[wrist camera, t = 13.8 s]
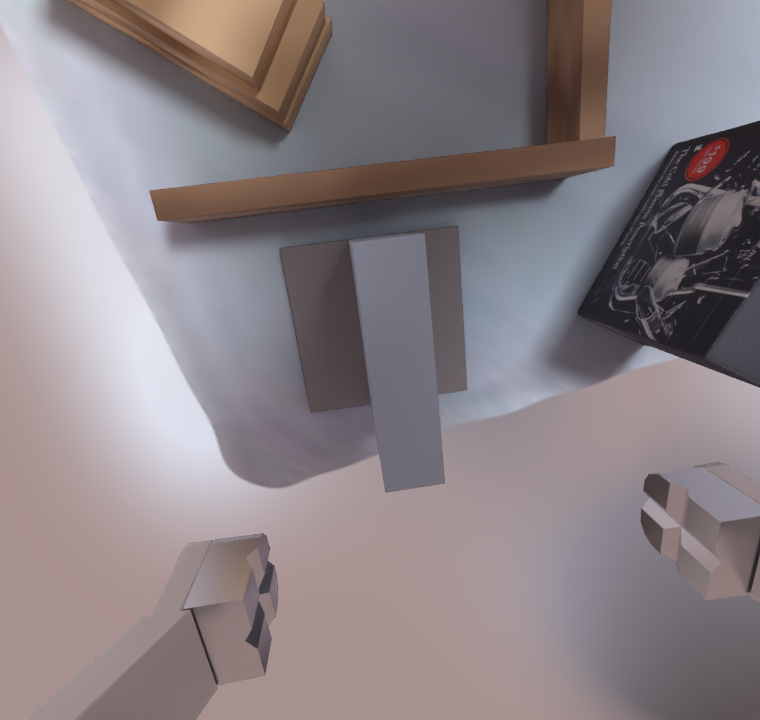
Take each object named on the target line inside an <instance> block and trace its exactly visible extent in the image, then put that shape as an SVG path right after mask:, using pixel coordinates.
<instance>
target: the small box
mask: <svg viewBox="0 0 760 720" xmlns="http://www.w3.org/2000/svg"><path fill="white" fill-rule="evenodd" d="M578 314H579V315H580V316H582V317H584V318H586V319H589V320H590V321H592V322H594V323H597V324H599V325H602V326H604V327H606V328H608V329H610V330H612V331H614V332H616V333H619V334H621V335H623V336H625V337H627V338H629V339H632V340H634V341H636V342H639V343H641V344H643V345H647V346H651V347H654V348H657V349H659V350H662V351H665V352H667V353H670V354H673V355H675V356H678V357H681V358H683V359H686V360H689V361H692V362H694V363H696V364H699V365H702V366H704V367H707V368H709V369H712V370H715V371H717V372H720V373H723V374H725V375H728V376H731V377H733V378H736V379H738V380H741V381H744V382H747V383H749V384H752V385H754V386H757V387H760V121H757V122H753V123H750V124H746V125H743V126H739V127H736V128H732V129H728V130H725V131H721V132H718V133H714V134H710V135H706V136H702V137H698V138H695V139H691V140H688V141H684V142H680V143H677V144H675V146H674V147H673V149H672V150H671V152H670V154H669V156H668V157H667V159H666V161H665V162H664V164H663V166H662V167H661V169H660V171H659V173H658V174H657V176H656V178H655V180H654V181H653V183H652V185H651V186H650V188H649V190H648V191H647V193H646V195H645V197H644V198H643V200H642V202H641V204H640V205H639V207H638V209H637V211H636V212H635V214H634V216H633V218H632V219H631V221H630V222H629V224H628V226H627V228H626V230H625V231H624V233H623V235H622V236H621V238H620V240H619V241H618V243H617V245H616V247H615V248H614V250H613V252H612V254H611V255H610V257H609V259H608V260H607V262H606V264H605V266H604V267H603V269H602V271H601V272H600V274H599V276H598V278H597V279H596V281H595V283H594V285H593V286H592V288H591V290H590V291H589V293H588V295H587V297H586V298H585V300H584V302H583V303H582V305H581V307H580V309H579V310H578Z"/></svg>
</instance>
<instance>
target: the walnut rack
mask: <svg viewBox="0 0 760 720" xmlns="http://www.w3.org/2000/svg"><path fill="white" fill-rule="evenodd" d="M610 16H611V0H548V7H547V129H546V145H537V146H528V147H520V148H511V149H503V150H494V151H485V152H477V153H468V154H460V155H451V156H443V157H434V158H425V159H417V160H408V161H400V162H391V163H383V164H374V165H365V166H357V167H348V168H340V169H331V170H322V171H314V172H305V173H297V174H288V175H280V176H271V177H262V178H254V179H245V180H237V181H228V182H220V183H211V184H202V185H194V186H185V187H177V188H168V189H159V190H151V191H150V195H151V198H152V202H153V206H154V209H155V213H156V217H157V220H158V221H169V222H183V223H196V222H205V221H213V220H221V219H229V218H238V217H246V216H254V215H262V214H271V213H279V212H287V211H296V210H304V209H312V208H320V207H329V206H337V205H345V204H353V203H362V202H370V201H378V200H387V199H395V198H403V197H411V196H420V195H428V194H436V193H444V192H453V191H461V190H469V189H477V188H486V187H494V186H502V185H511V184H519V183H527V182H535V181H544V180H552V179H560V178H568V177H572V176H576V175H580V174H584V173H588V172H592V171H596V170H599V169H603V168H607V167H611V166H614V157H615V139H616V136H614V137H606V138H605V120H606V99H607V79H608V58H609V37H610Z"/></svg>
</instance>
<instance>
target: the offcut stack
mask: <svg viewBox="0 0 760 720" xmlns="http://www.w3.org/2000/svg"><path fill="white" fill-rule="evenodd" d="M68 1H70V2H72V3H73V4H75V5H77V6H78V7H80V8H82V9H83V10H85V11H87V12H89V13H90V14H92V15H94V16H95V17H97V18H99V19H100V20H102V21H104V22H105V23H107V24H109V25H110V26H112V27H114V28H115V29H117V30H119V31H120V32H122V33H124V34H125V35H127V36H129V37H131V38H132V39H134V40H136V41H137V42H139V43H141V44H142V45H144V46H146V47H147V48H149V49H151V50H152V51H154V52H156V53H157V54H159V55H161V56H162V57H164V58H166V59H167V60H169V61H171V62H173V63H174V64H176V65H178V66H179V67H181V68H183V69H184V70H186V71H188V72H189V73H191V74H193V75H194V76H196V77H198V78H199V79H201V80H203V81H204V82H206V83H208V84H209V85H211V86H213V87H215V88H216V89H218V90H220V91H221V92H223V93H225V94H226V95H228V96H230V97H231V98H233V99H235V100H236V101H238V102H240V103H241V104H243V105H245V106H246V107H248V108H250V109H251V110H253V111H255V112H257V113H258V114H260V115H262V116H263V117H265V118H267V119H268V120H270V121H272V122H273V123H275V124H277V125H278V126H280V127H282V128H283V129H285V130H287V131H288V132H290V131H291V128H292V126H293V124H294V121H295V119H296V117H297V114H298V112H299V110H300V107H301V105H302V103H303V101H304V98H305V96H306V94H307V91H308V89H309V87H310V84H311V82H312V80H313V77H314V75H315V73H316V70H317V68H318V66H319V63H320V61H321V59H322V56H323V54H324V52H325V49H326V47H327V45H328V43H329V40H330V38H331V36H332V21H331V18H329V17H328V16H326V15H325V7H324V2H323V1H321V0H68Z"/></svg>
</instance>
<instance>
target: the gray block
mask: <svg viewBox="0 0 760 720" xmlns="http://www.w3.org/2000/svg"><path fill="white" fill-rule="evenodd" d="M348 240H349V247H350V254H351V261H352V269H353V276H354V283H355V291H356V298H357V305H358V312H359V320H360V327H361V334H362V342H363V349H364V356H365V363H366V371H367V378H368V385H369V393H370V400H371V407H372V413H373V419H374V425H375V431H376V437H377V443H378V449H379V455H380V461H381V467H382V473H383V480H384V485H385V492H392V491H398V490H405V489H411V488H418V487H424V486H431V485H437V484H443V483H445V479H444V466H443V453H442V441H441V429H440V416H439V404H438V392H437V379H436V367H435V354H434V342H433V330H432V317H431V305H430V293H429V280H428V268H427V256H426V243H425V233H424V234H388V235H380V236H372V237H364V238H356V239H348Z"/></svg>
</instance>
